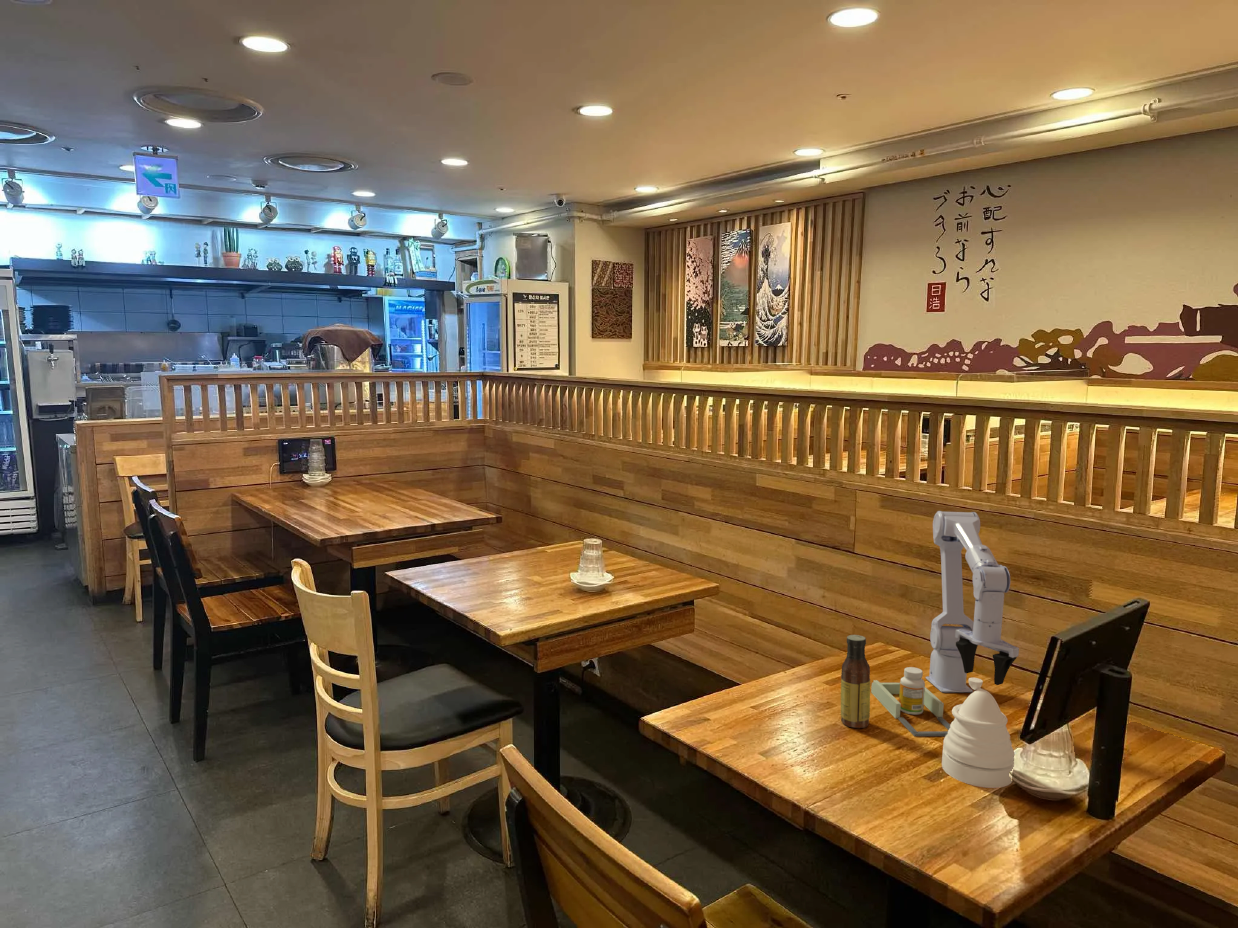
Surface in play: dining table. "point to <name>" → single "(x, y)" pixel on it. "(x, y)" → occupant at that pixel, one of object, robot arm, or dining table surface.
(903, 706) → the supplement bottle
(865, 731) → the dining table surface
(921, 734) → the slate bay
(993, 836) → the dining table surface
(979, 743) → the honey pot
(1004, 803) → the dining table surface
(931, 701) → the pale green open frame
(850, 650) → the sauce bottle
